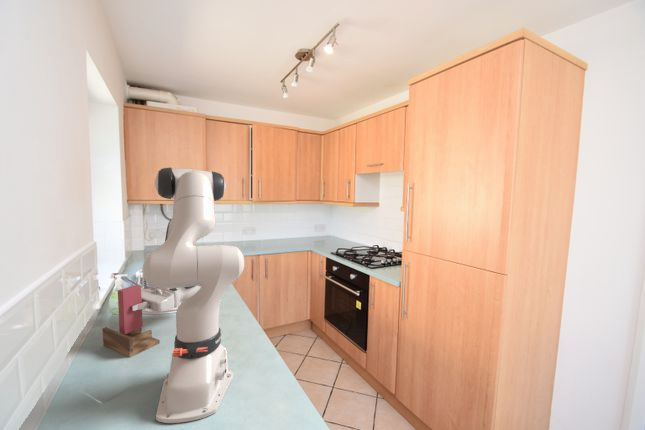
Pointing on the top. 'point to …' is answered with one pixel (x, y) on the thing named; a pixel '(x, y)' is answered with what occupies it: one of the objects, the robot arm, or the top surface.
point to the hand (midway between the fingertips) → (127, 307)
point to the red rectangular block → (129, 309)
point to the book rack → (129, 341)
